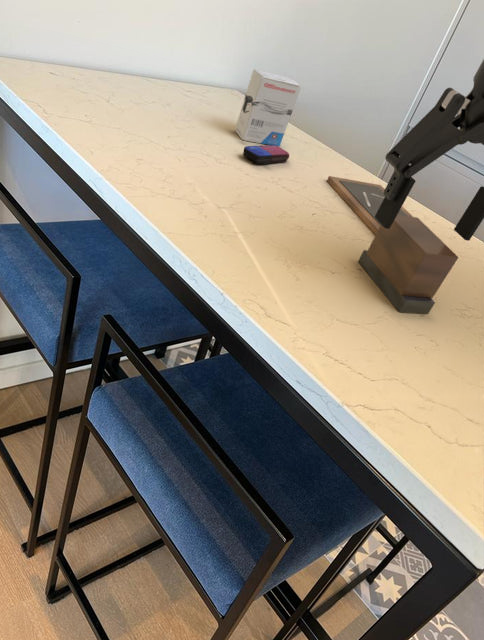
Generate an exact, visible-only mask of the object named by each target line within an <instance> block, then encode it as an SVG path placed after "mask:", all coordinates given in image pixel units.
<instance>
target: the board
mask: <svg viewBox="0 0 484 640" xmlns="http://www.w3.org/2000/svg"><path fill="white" fill-rule="evenodd" d="M326 181H327V183H328V184H329V185H330V186H331V187H332V189H334V191H335V192H336V193H337V194H338V195H339V196H340V197H341V199H343V200H344V202H345V203H346V204H347V206H349V207H350V209H352V211H353V212H354V213H355V214H356V215H357V216H358V217H359V219H360V220H361V221H362V222H363V223H364V224H365V225H366V227H368V229H369V230H370V231H371V232H372V233H373V234H374V236H375V235H376V234H377V232H378V230H379V228H380V226H381V224H380V223H379V221H378V220H377V219H376V218H375V215H376V213H377V211H378V209H379V207H380V206H381V204H382V202H383V200H384V198H385V195H384V190H385V188H384V187H383V186H382V185H381V184H376V183H370V182H365V181H361V180H360V181H359V180H354V179H350V178H349V179H348V178H342V177H337V176H332V175H328V177H327V179H326ZM397 215H403V216H410V217H414V216H413V215H412V214H411V213H410V212H409V211H408V210H407V209H406V208H405V207H404V206H403V205H402V207H401V209H400V211H399V212H398V214H397Z"/></svg>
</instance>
